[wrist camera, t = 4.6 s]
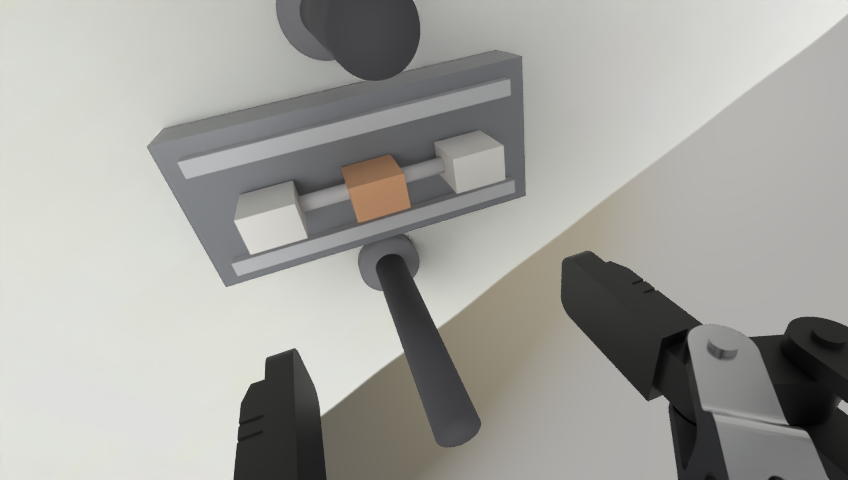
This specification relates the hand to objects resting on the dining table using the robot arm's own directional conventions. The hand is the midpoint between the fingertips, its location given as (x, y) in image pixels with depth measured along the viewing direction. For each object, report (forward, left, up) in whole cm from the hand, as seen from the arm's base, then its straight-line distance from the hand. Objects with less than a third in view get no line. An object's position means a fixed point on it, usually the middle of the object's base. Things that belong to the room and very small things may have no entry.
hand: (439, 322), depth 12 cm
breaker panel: (0, 0, -15) cm, 15 cm away
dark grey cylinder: (-7, -3, -15) cm, 16 cm away
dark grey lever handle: (+7, +3, -15) cm, 16 cm away
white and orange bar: (0, 0, -11) cm, 11 cm away
